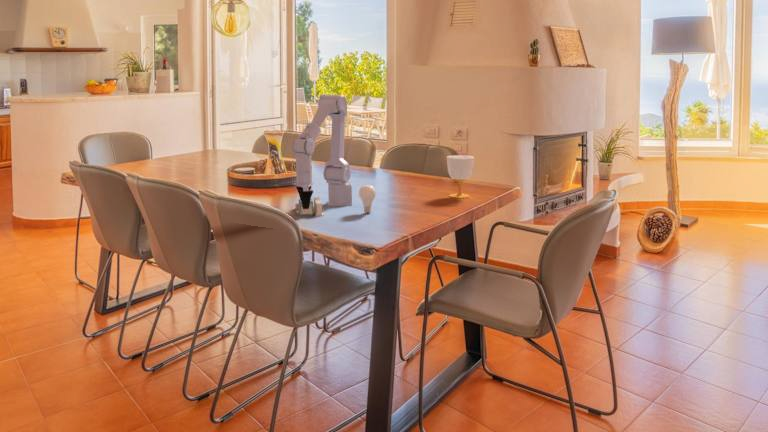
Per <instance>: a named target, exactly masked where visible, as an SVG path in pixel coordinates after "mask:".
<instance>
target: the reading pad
mask: <svg viewBox="0 0 768 432" xmlns="http://www.w3.org/2000/svg"><path fill="white" fill-rule="evenodd" d="M297 215H298V217H299V218H300V217H313V215H314V214H313V215H300V214H299V212H298V213H297Z"/></svg>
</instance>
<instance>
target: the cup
mask: <svg viewBox="0 0 768 432" xmlns="http://www.w3.org/2000/svg"><path fill="white" fill-rule="evenodd" d="M474 164H475V156H473V155H466V154H465V155H462V154H461V155H458V154H456V155H447V156H446V167H447V173H448V175H449V177H450V178H451V179H452V180H454V181H456V182H457V183H458V192H457V193H450V194H449V195H448V197H450V198H454V199H467V198H466V197H468V198H470V197H471V195H470V194H467V193H462V190H461V189H462V182H464V181H466V180H468V179H469V178H470V177H471V176H472V175H473V170H474ZM469 196H470V197H469Z"/></svg>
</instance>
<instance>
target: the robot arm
mask: <svg viewBox="0 0 768 432" xmlns="http://www.w3.org/2000/svg"><path fill="white" fill-rule="evenodd" d="M347 115H348V100H347V98H346V96H345V95H344V94H321V95H319V98H318V100H317V110H316V112H315V114H314V116H313V118H312V121H311V122H308V123H307V124H306V125H305V127H304V129H303V130H302V132H301V134H300V136H299V137H298V138H296V139H295V140H293V143H292V146H291V151H292V153H293V154H294V155H293V156H294V159H295V170H296V173H295V176H296V182H293V186H296V187H295V188H296V190H297V192H298V195H299V200H300V199H301V202H302V207H303V209H309V205H310V199H312V195H313V193H314V189H313V190H311V189H312V186H313V185H314V184H313V183H314V182H313V171H312V167H313V166H312V155H313V153H314V152H315V146H316V140H317V139H318V137H319V136H320V134H321V128H320V127H321V126H322V125H323V122H324V121H325V120H326V118H327V117H328V116H329V117H330V118H331V134H330V135H331V136H330V137H331V138H330V139H331V140H330V158H329V159H328V160H327V161H325V164H324V169H323V174H322V175H323V178H324V180H325V182H326V183H327V189H328V190H327V191H328V192H327V193H328V194H327V195H328V196H327V197H328V200H327V201H326V204H327V206H328V207H340V206H342V207H343V206H344V207H346V206H353V195H352V194H353V190H352V188H353V187H352V183H351V182H349V180H350V179H351V170H350V163H349V162H348V161H346V160H345V159H344V157H345V156H344V155H345V154H344V153H345V134H346V133H345V131H346V117H347Z"/></svg>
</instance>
